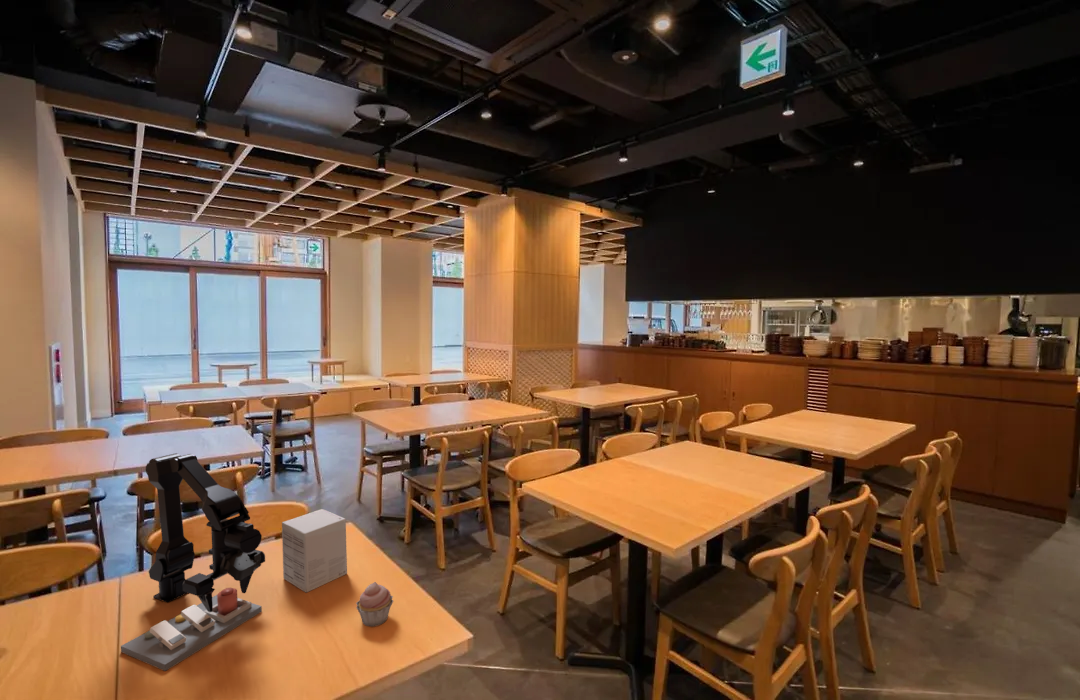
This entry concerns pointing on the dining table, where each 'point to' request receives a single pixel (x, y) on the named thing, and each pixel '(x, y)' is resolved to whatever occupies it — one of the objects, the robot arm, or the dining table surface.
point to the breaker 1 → (168, 634)
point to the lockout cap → (227, 601)
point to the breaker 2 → (198, 618)
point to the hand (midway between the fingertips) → (227, 602)
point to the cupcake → (374, 605)
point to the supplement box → (314, 549)
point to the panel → (188, 636)
